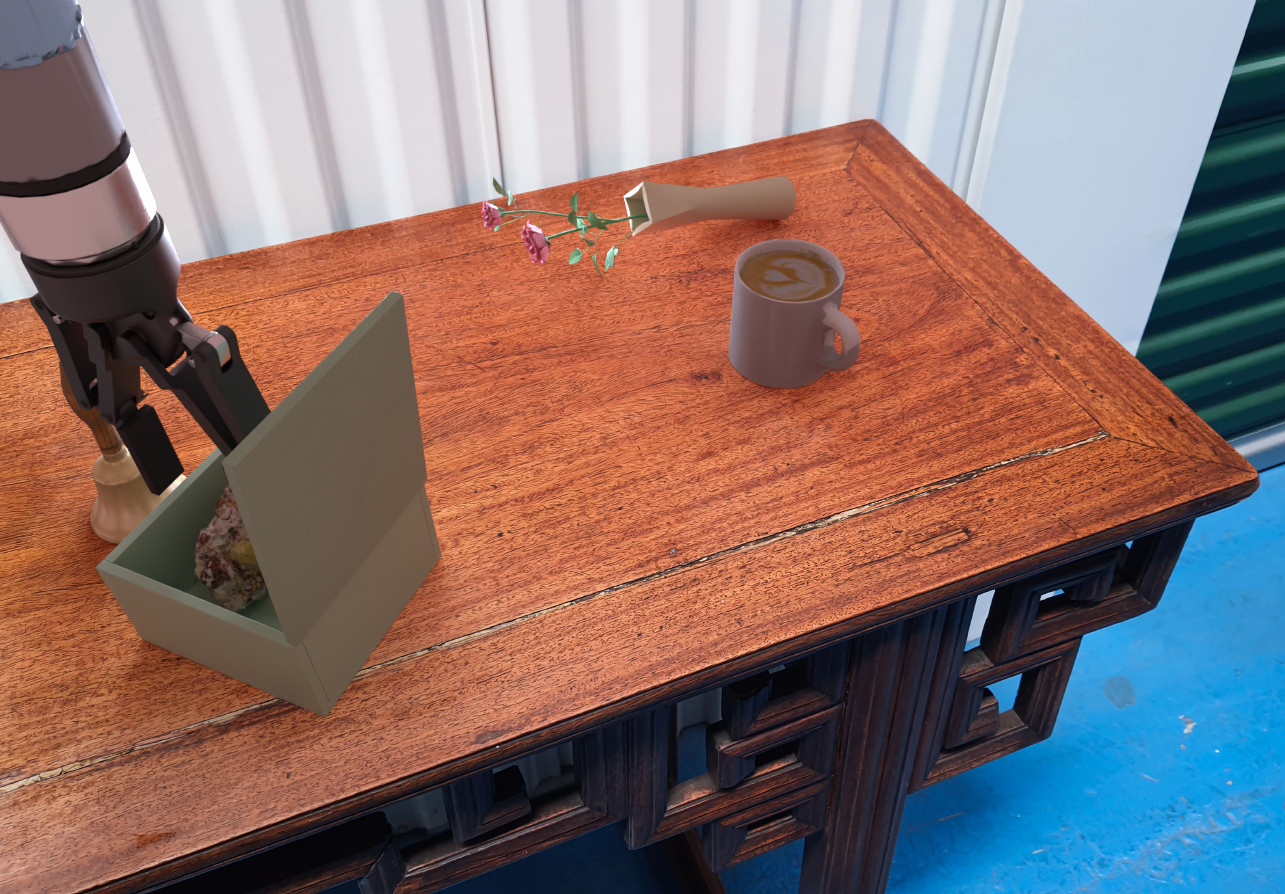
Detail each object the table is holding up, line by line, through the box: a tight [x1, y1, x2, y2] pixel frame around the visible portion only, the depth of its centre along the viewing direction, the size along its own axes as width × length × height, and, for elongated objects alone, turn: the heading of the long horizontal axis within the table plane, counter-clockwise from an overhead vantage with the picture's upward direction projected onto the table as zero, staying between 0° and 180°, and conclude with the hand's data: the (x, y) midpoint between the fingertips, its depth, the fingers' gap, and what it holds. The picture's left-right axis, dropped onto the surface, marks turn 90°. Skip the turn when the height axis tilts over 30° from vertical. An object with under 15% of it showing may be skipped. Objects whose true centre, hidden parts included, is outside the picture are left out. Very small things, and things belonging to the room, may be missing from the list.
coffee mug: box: [728, 238, 861, 390], centre depth 92 cm, size 13×10×10 cm
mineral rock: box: [194, 484, 268, 612], centre depth 74 cm, size 11×4×8 cm
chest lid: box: [222, 290, 428, 647], centre depth 62 cm, size 17×16×1 cm
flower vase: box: [480, 175, 797, 279], centre depth 106 cm, size 12×12×35 cm
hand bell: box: [58, 360, 188, 545], centre depth 78 cm, size 8×8×16 cm
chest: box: [95, 447, 442, 718], centre depth 74 cm, size 17×16×9 cm
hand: (216, 499), depth 71 cm, fingers open, 8 cm apart
